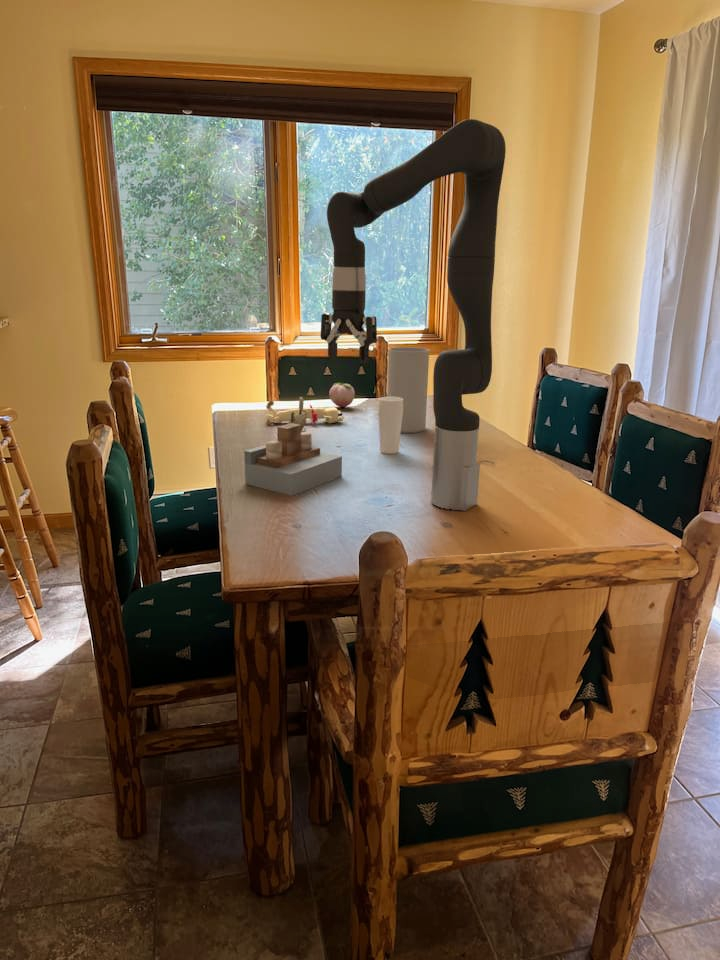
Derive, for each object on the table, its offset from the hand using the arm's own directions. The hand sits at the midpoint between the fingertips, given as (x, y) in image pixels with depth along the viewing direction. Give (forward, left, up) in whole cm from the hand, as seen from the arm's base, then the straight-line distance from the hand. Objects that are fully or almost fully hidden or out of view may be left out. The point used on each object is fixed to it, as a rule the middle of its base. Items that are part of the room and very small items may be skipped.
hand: (347, 360), depth 159 cm
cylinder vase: (+15, -53, -28) cm, 62 cm away
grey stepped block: (+8, +10, -28) cm, 31 cm away
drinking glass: (+4, -26, -28) cm, 39 cm away
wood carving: (+28, -14, -28) cm, 42 cm away
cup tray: (+10, +10, -23) cm, 27 cm away
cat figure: (+45, -40, -29) cm, 66 cm away
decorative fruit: (+50, -67, -28) cm, 88 cm away
